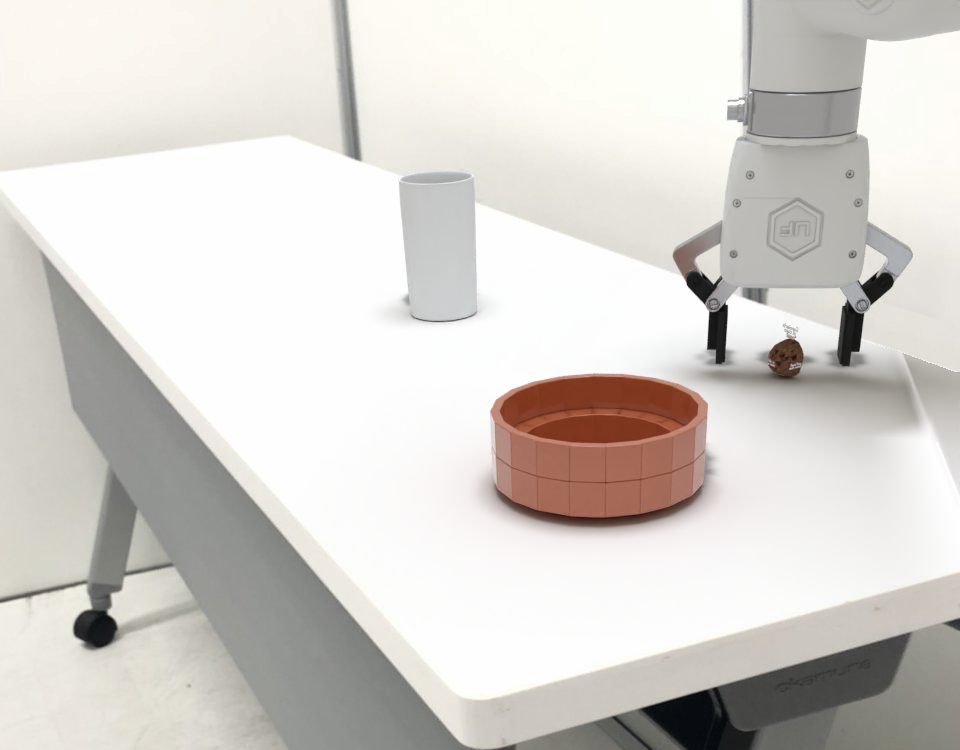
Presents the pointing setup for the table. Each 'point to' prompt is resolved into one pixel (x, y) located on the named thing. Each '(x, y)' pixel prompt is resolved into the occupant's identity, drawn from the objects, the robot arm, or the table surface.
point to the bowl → (599, 444)
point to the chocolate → (786, 355)
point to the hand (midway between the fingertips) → (781, 359)
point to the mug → (440, 243)
